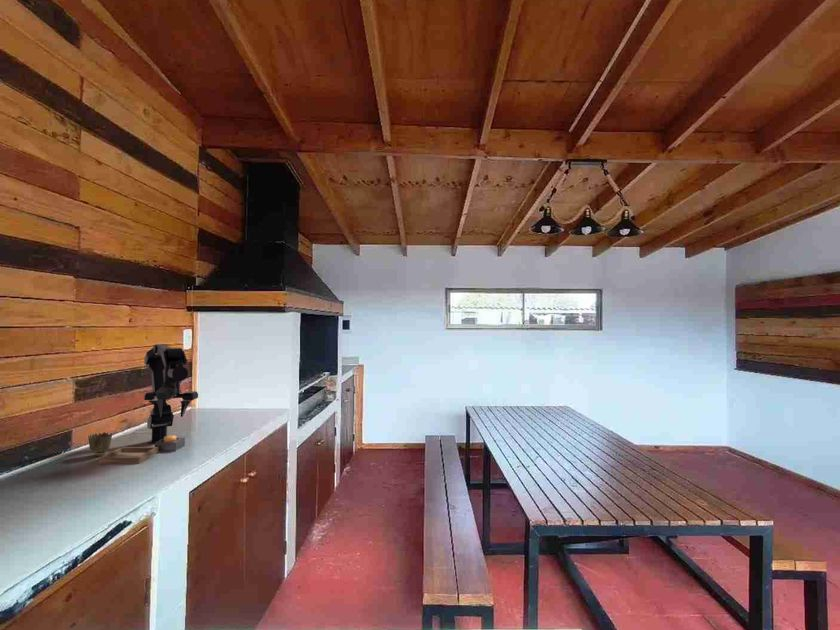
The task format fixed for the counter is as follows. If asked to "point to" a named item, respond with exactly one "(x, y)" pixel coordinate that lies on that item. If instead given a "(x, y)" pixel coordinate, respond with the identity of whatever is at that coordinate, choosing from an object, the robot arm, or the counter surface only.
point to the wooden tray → (128, 455)
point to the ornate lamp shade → (100, 443)
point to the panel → (170, 444)
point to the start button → (170, 438)
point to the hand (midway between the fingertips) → (171, 416)
